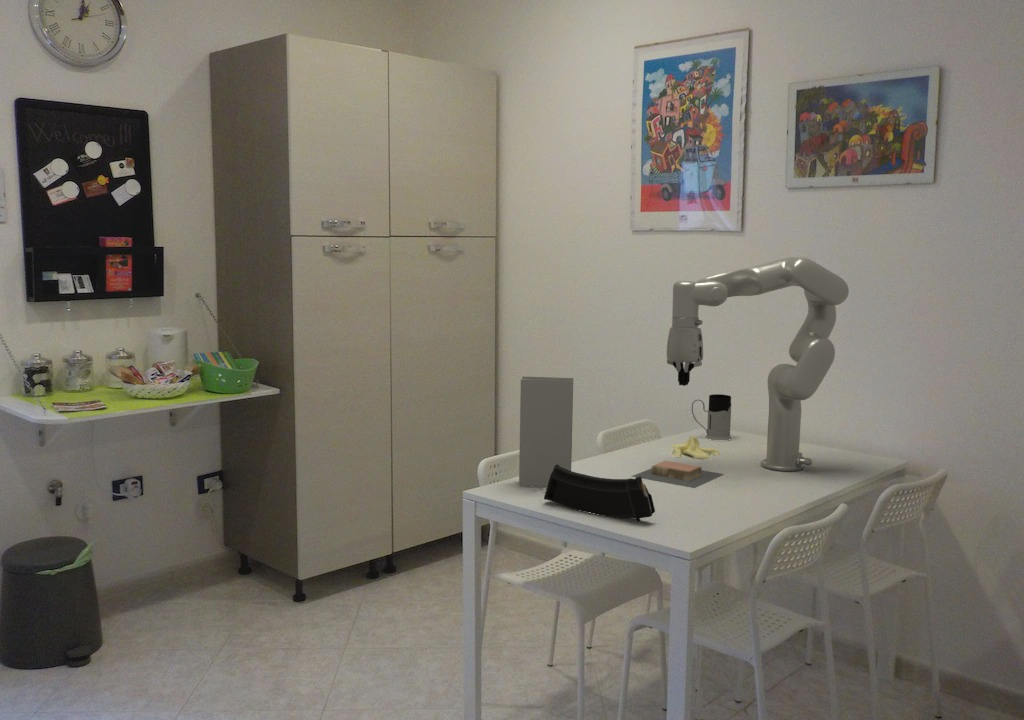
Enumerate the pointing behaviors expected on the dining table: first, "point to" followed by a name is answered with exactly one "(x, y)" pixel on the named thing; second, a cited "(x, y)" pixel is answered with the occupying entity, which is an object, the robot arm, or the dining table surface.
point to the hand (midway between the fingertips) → (683, 384)
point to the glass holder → (717, 417)
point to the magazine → (600, 494)
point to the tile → (676, 470)
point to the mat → (693, 483)
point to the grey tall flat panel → (544, 428)
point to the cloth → (693, 449)
